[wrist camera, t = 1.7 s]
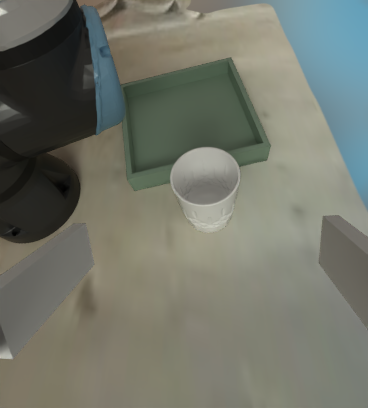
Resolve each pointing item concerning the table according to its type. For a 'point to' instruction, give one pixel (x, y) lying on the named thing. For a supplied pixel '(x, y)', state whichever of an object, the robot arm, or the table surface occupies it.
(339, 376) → the table surface
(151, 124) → the green box
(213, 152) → the white cup
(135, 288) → the table surface
